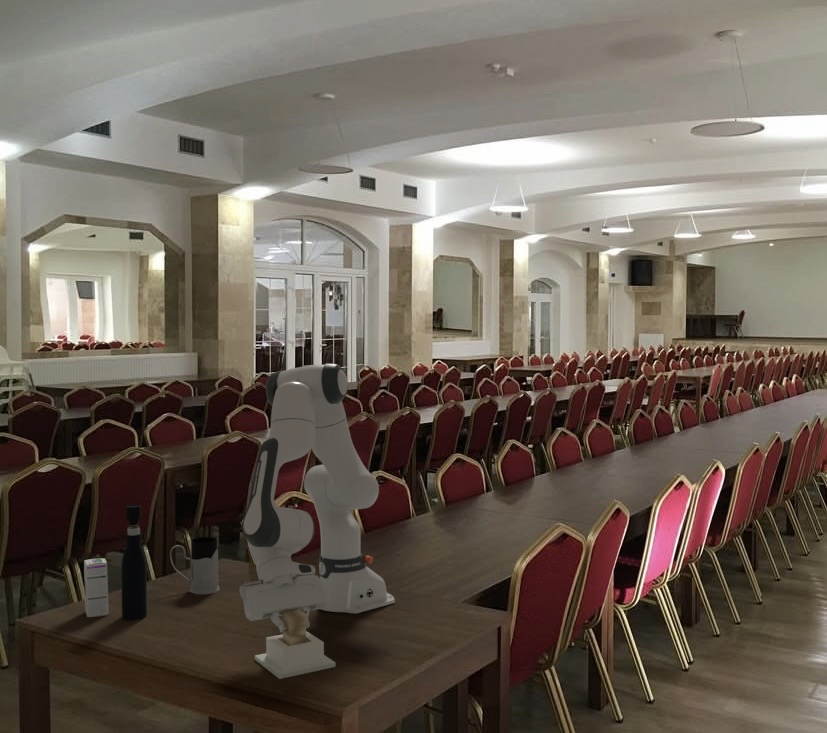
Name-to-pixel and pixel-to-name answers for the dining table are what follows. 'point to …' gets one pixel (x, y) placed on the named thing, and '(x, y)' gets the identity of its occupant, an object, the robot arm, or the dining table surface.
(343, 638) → the dining table surface
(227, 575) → the dining table surface
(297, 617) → the tan tall wooden block
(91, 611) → the syrup box
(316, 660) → the white socket base
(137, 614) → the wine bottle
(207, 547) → the grey mug
